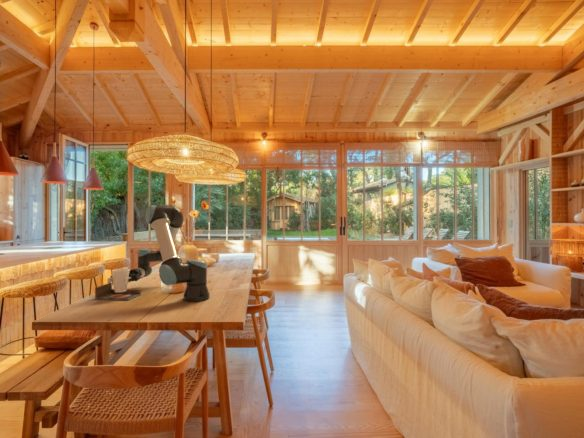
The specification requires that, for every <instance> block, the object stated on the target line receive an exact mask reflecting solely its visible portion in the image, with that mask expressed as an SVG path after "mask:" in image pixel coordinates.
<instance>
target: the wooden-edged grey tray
mask: <svg viewBox="0 0 584 438" xmlns="http://www.w3.org/2000/svg"><path fill="white" fill-rule="evenodd" d="M112 284H113V282H111V283H105V284H102V285H99V286H97V287H94V290H95V291H94V293H95V294H94V300H97V301H125V302H126V301H131V300H133V299H135V298H137V297H139V296H141V295H142V289H127V290H126V291H125V292H115V291H114V288H112V287H113V285H112Z"/></svg>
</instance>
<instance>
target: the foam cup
mask: <svg viewBox="0 0 584 438" xmlns="http://www.w3.org/2000/svg"><path fill="white" fill-rule="evenodd" d="M129 272H130V269H129V268H115V269H112V270H111V276H112V277H113V282H112V284H113V289H114V291H115V292H125V291H126V290H128V284H129V283H126V284H124V279H126V278H128V277H129Z"/></svg>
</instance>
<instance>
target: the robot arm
mask: <svg viewBox="0 0 584 438" xmlns="http://www.w3.org/2000/svg"><path fill="white" fill-rule="evenodd" d="M145 210H146V211H145V216H144V221H145V223H146V224H148V225H150V227H151V229H153V230H154V233H155V236H156V241H157V245H158V247H159V248H158V250H151V249H150V248H139V249H138V250H137V267H136V268H133V269H131V270H130V272H129V277H128V278H126V279H124V284H126V283H128V284H129V283H131V282H138V281H139V280H140V279H144V278H146V277H148V276H150V275H151V274H152V272H153V269H152V266H151V265H150V264H151V263H155V262H161V263H160V266H159V269H158V275H159V279H160V281H161V282H162V283H163V284H164V285H166V286H174V285H179V284H186V287H185V290H184V293H183V296H182V297H183V301H187V302H203V301H207V300H209V299H210V293H209V289H208V286H207V284H208V283H207V281H208V280H207V276H208V273H207V272H208V267H207V266H208V264H207V262H206V261H205V260H199V259H187V260H186V262H183V260H182V258H181V257H179V256H178V251H177V249H176V246H175V242H174V241H175V239H176V237H177V234H178V232H179V230H180V228H182V226H183V223H184V215H183V212H182V211H181V209H180V208H179V207H177V206H175V205H166V204H165V205H163V204H162V205H161V204H150V205H148V206H147V207H146V209H145ZM108 283H113V277H112V275H110V277H108V278H107V282H106V284H108Z"/></svg>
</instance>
